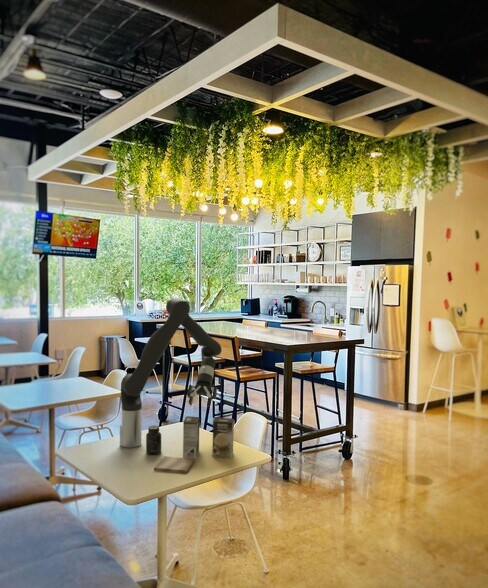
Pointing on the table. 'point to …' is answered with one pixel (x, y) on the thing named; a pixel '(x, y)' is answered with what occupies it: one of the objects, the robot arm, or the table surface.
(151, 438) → the supplement bottle
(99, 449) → the table surface
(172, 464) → the brown tray
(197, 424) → the coffee box
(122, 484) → the table surface
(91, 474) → the table surface
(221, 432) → the coffee box
